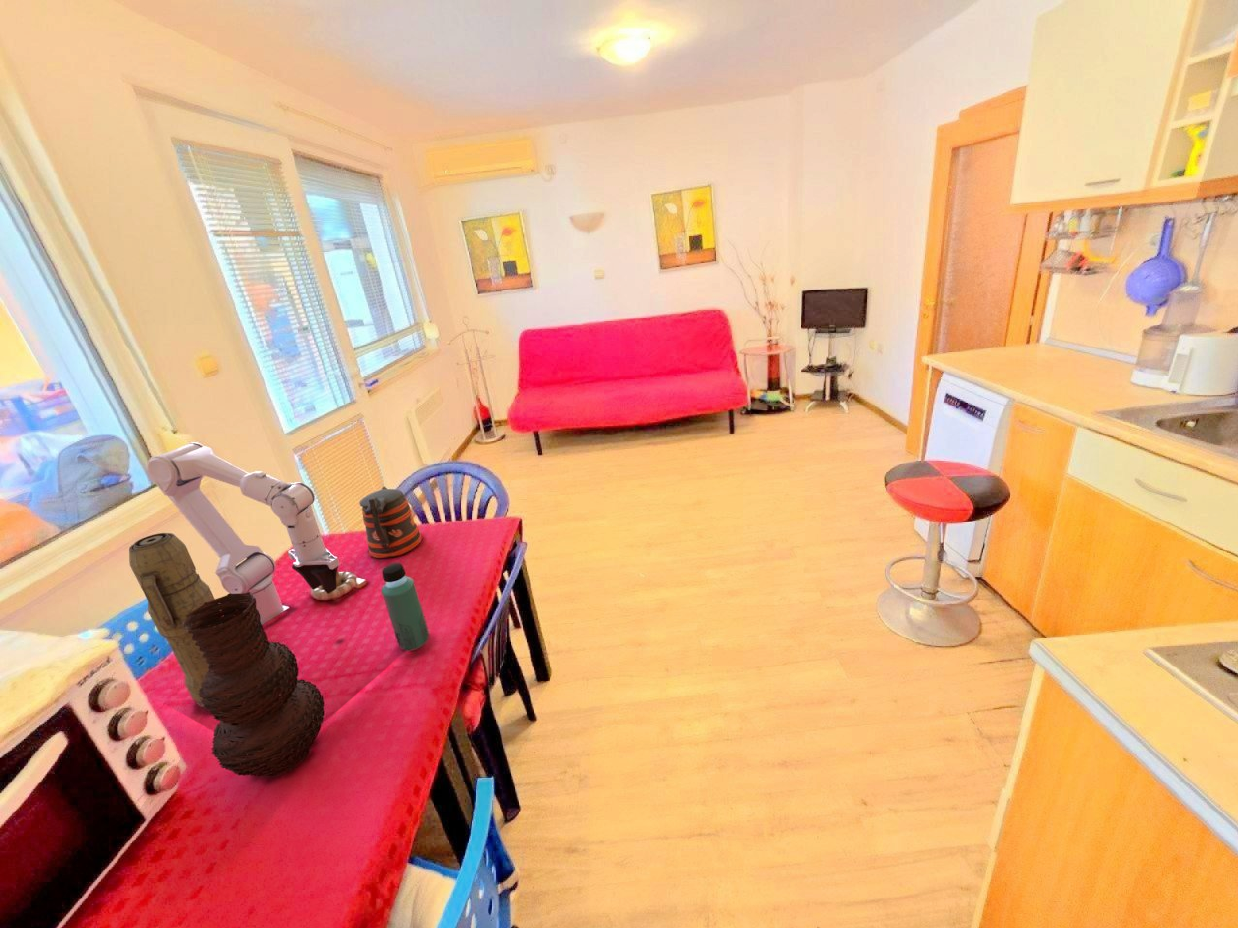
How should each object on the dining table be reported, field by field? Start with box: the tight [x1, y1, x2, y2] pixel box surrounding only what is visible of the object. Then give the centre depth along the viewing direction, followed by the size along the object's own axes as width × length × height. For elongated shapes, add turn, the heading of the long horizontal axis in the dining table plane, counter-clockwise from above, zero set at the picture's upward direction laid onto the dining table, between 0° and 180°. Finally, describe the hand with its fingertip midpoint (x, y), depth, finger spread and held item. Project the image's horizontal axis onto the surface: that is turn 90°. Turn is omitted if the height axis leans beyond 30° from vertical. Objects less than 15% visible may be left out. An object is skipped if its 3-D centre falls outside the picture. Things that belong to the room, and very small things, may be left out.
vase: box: [180, 592, 326, 780], centre depth 80 cm, size 15×15×30 cm
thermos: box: [128, 532, 216, 708], centre depth 93 cm, size 9×12×35 cm
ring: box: [310, 571, 358, 601], centre depth 128 cm, size 10×10×2 cm
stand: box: [323, 569, 368, 601], centre depth 129 cm, size 9×9×7 cm
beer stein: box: [359, 486, 422, 559], centre depth 144 cm, size 19×15×20 cm
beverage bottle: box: [381, 562, 430, 652], centre depth 104 cm, size 6×7×20 cm
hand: (324, 588), depth 117 cm, fingers open, 4 cm apart
